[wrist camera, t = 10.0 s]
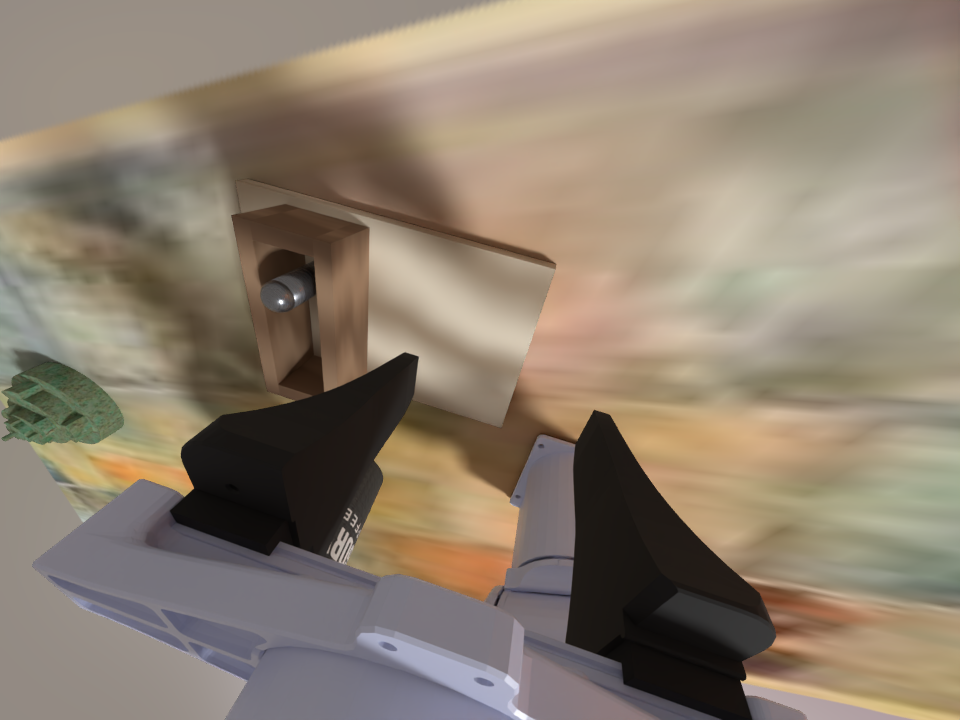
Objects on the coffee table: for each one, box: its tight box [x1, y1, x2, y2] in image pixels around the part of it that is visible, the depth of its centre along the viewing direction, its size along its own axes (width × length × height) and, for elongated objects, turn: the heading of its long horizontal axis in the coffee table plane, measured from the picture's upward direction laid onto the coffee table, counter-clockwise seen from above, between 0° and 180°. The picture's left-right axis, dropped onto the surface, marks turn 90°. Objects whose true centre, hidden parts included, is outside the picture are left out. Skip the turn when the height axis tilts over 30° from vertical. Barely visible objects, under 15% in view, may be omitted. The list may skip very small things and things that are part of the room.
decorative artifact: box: [2, 362, 124, 445], centre depth 37 cm, size 10×7×10 cm
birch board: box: [235, 179, 556, 428], centre depth 24 cm, size 13×20×1 cm, turn 78°
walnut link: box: [231, 204, 370, 401], centre depth 22 cm, size 12×6×4 cm, turn 168°
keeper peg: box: [260, 261, 317, 313], centre depth 20 cm, size 2×2×6 cm
